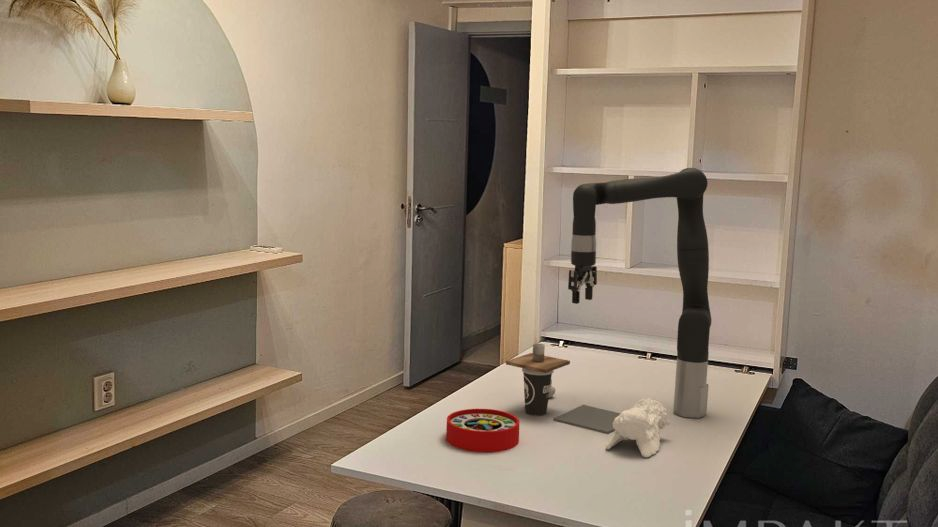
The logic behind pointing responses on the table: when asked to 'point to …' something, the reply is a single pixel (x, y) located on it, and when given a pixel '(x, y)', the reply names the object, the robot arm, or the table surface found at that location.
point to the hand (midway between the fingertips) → (582, 301)
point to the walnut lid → (538, 360)
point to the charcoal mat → (589, 418)
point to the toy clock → (482, 430)
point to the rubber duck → (551, 390)
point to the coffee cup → (536, 391)
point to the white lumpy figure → (641, 426)
